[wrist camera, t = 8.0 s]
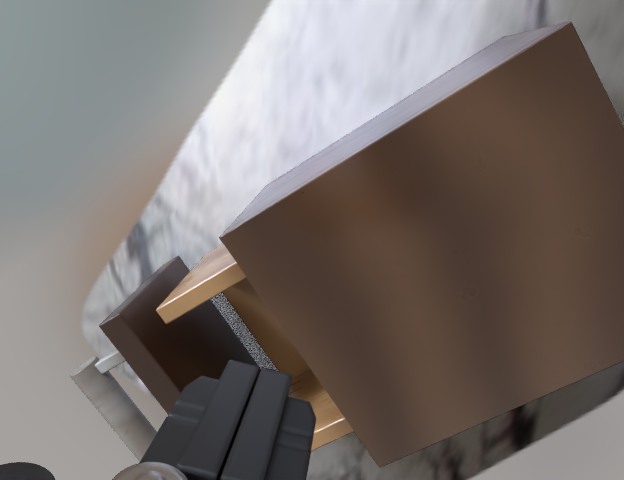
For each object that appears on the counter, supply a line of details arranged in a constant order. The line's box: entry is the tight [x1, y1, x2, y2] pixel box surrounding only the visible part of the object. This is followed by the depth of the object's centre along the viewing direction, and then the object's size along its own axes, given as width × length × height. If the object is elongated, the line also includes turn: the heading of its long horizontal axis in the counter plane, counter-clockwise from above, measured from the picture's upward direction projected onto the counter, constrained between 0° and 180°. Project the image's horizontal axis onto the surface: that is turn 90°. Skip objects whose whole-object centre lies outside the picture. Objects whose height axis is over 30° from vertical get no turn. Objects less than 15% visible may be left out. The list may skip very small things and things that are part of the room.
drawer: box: [70, 244, 354, 461], centre depth 26 cm, size 17×10×7 cm, turn 123°
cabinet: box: [219, 21, 624, 467], centre depth 24 cm, size 14×12×9 cm
